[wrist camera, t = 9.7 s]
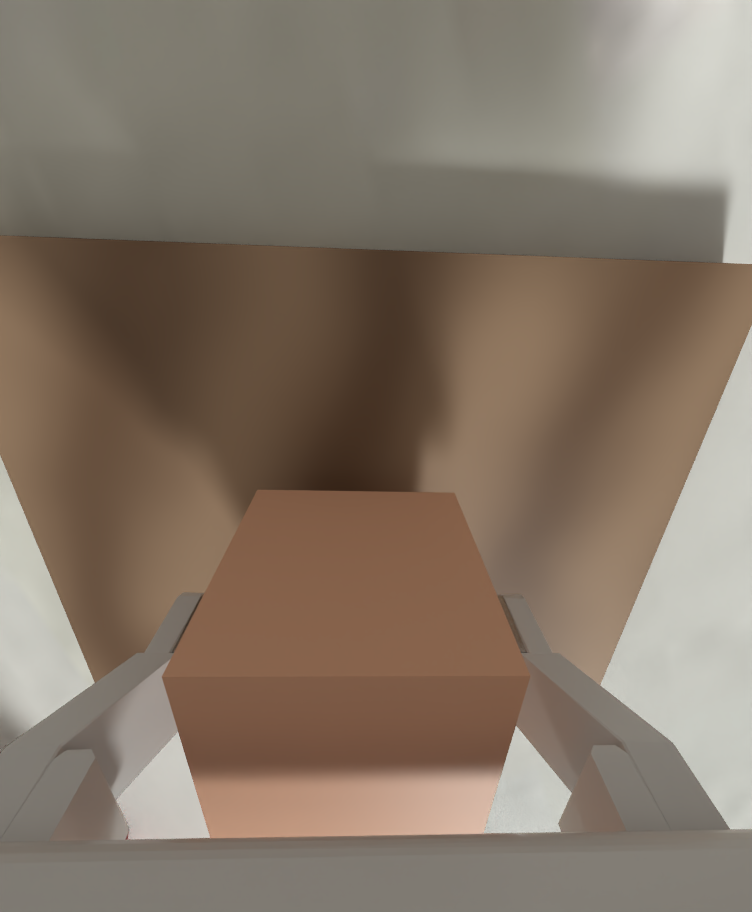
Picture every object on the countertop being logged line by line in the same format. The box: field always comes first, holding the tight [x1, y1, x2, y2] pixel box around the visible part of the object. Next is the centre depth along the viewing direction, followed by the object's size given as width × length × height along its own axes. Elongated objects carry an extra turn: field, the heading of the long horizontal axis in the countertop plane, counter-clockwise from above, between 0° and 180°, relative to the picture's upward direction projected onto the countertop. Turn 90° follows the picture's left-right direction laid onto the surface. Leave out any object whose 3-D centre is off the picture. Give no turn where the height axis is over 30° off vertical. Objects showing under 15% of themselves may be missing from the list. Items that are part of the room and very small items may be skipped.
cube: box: [162, 490, 530, 838], centre depth 9 cm, size 5×5×5 cm
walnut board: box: [0, 235, 752, 685], centre depth 13 cm, size 20×16×2 cm
